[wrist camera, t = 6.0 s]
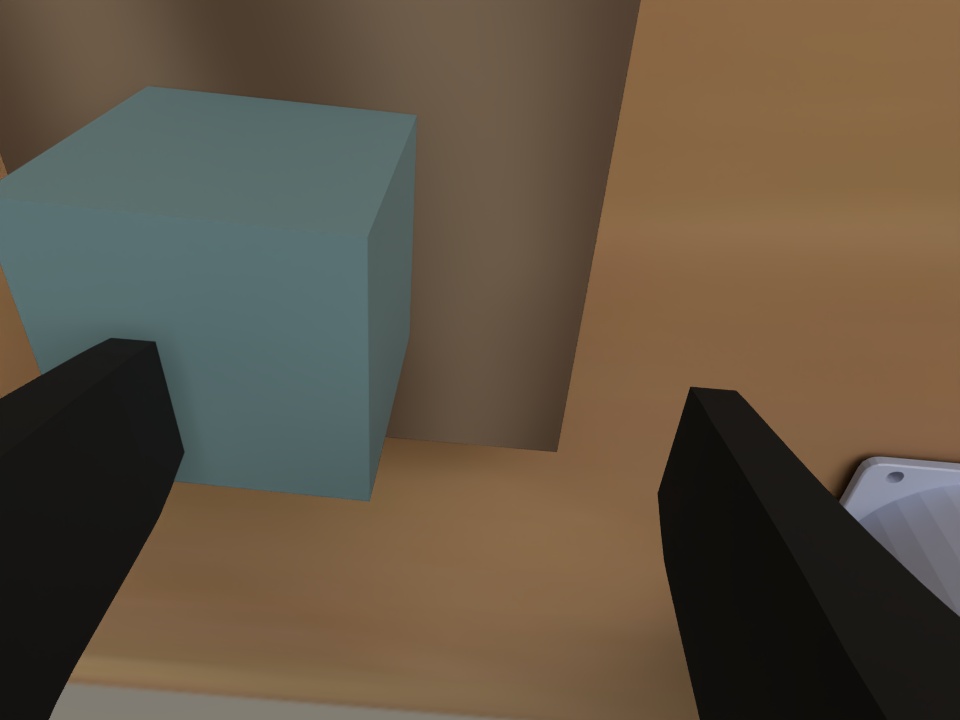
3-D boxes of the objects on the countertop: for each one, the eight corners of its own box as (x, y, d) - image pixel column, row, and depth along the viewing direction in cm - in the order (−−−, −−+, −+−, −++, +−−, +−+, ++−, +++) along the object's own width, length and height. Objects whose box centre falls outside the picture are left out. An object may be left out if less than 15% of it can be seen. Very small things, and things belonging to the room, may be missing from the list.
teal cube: (416, 115, 13) (368, 237, 9) (409, 335, 16) (369, 501, 12) (147, 86, 13) (-25, 195, 9) (190, 312, 16) (76, 471, 12)
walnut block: (630, -123, 14) (661, -113, 11) (552, 359, 21) (556, 452, 18) (32, -173, 14) (-117, -180, 11) (157, 324, 21) (91, 411, 18)
